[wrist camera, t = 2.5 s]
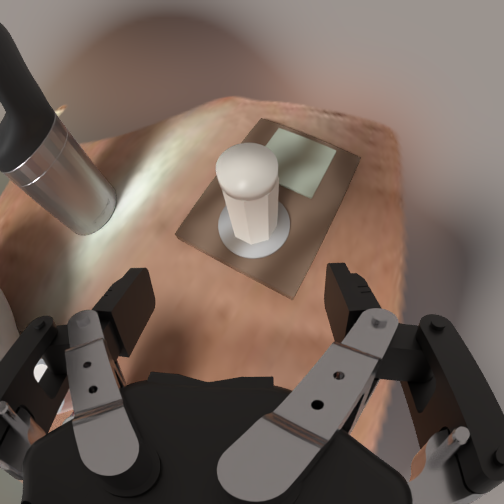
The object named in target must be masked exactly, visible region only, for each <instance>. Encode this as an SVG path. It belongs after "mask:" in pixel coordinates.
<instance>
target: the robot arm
mask: <svg viewBox="0 0 504 504" xmlns="http://www.w3.org/2000/svg"><path fill="white" fill-rule="evenodd" d="M0 102H1V103H2V105H3V107H4V109H5V111H6V114H5V116H4V118H3V120H2V121H1V123H0V171H1V172H2V173H3V174H4V175H6V176H7V177H8V178H9V179H10V180H11V181H12V182H13V183H15V184H16V185H17V186H18V187H19V188H20V189H22V190H23V191H24V192H25V193H26V194H27V195H29V196H30V197H31V198H32V199H33V200H35V201H36V202H37V203H38V204H39V205H41V206H42V207H43V208H44V209H45V210H47V211H48V212H49V213H50V214H52V215H53V216H54V217H55V218H57V219H58V220H59V221H60V222H62V223H63V224H64V225H66V226H67V227H68V228H70V229H71V230H72V231H74V232H75V233H76V234H79V235H89V234H92V233H94V232H96V231H97V230H99V229H100V228H101V227H102V226H104V225H105V223H106V222H107V221H108V220H109V218H110V217H111V215H112V213H113V211H114V208H115V204H116V193H115V190H114V188H113V187H112V186H111V184H110V183H109V182H108V181H107V180H106V178H105V177H104V176H103V175H102V173H101V172H100V171H99V169H98V168H97V167H96V166H95V164H94V163H93V162H92V161H91V159H90V158H89V157H88V156H87V154H86V153H85V152H84V150H83V149H82V148H81V146H80V145H79V144H78V143H77V141H76V140H75V139H74V137H73V136H72V135H71V133H70V132H69V131H68V129H67V128H66V127H65V125H64V124H63V123H62V121H61V120H60V119H59V117H58V116H57V114H56V113H55V112H54V110H53V109H52V107H51V106H50V105H49V103H48V101H47V100H46V98H45V96H44V94H43V92H42V91H41V89H40V87H39V86H38V84H37V83H36V81H35V80H34V78H33V76H32V75H31V73H30V71H29V70H28V68H27V66H26V64H25V62H24V60H23V58H22V56H21V55H20V52H19V50H18V48H17V47H16V44H15V43H14V41H13V39H12V37H11V35H10V34H9V32H8V31H7V29H6V28H5V27H4V26H3V25H2V24H1V23H0ZM324 303H325V309H326V312H327V316H328V319H329V323H330V326H331V330H332V333H333V337H334V340H335V342H333V343H332V344H331V346H330V347H329V348H328V349H327V351H326V352H325V353H324V354H323V356H322V357H321V358H320V359H319V361H318V362H317V363H316V364H315V365H314V367H313V368H312V369H311V370H310V371H309V373H308V374H307V375H306V376H305V377H304V378H303V380H302V381H301V382H300V383H299V384H298V385H297V386H296V388H295V389H294V390H293V391H291V390H289V389H286V388H282V387H278V386H274V384H273V377H238V378H233V379H227V380H221V381H214V382H204V381H200V380H197V379H193V378H190V377H186V376H183V375H179V374H170V373H159V372H150V375H149V377H148V380H144V381H139V382H135V383H132V384H129V385H127V384H126V381H125V379H124V376H123V374H122V371H121V368H120V366H119V363H118V361H117V358H118V356H122V357H130V355H131V353H132V351H133V349H134V347H135V345H136V343H137V341H138V339H139V337H140V335H141V333H142V331H143V330H144V328H145V326H146V324H147V322H148V320H149V318H150V316H151V315H152V313H153V311H154V308H155V296H154V292H153V288H152V284H151V280H150V275H149V272H148V270H147V268H130V269H129V270H128V272H127V273H126V274H125V275H124V276H123V278H121V279H120V280H118V281H116V282H115V283H113V284H112V286H111V287H110V288H109V289H108V291H107V292H106V293H105V294H104V296H102V298H101V299H100V300H99V301H98V303H97V304H96V305H95V306H94V308H93V309H92V310H84V311H81V312H78V313H76V314H75V315H73V316H72V317H71V318H70V319H69V321H68V324H67V325H60V326H56V325H55V323H54V321H53V318H52V317H50V316H42V317H39V318H37V319H35V320H33V321H32V322H31V323H30V324H29V325H28V326H27V328H26V329H25V330H24V331H23V333H22V334H21V335H20V336H19V338H18V339H17V340H16V341H15V343H14V344H13V345H12V346H11V348H10V349H9V350H8V352H7V353H6V354H5V356H4V357H3V358H2V360H1V361H0V468H2V469H4V470H5V471H6V472H7V473H9V474H10V475H11V476H12V477H14V478H15V479H18V480H23V495H22V501H21V504H470V503H472V502H474V501H475V500H477V499H478V498H480V497H482V496H483V495H485V494H486V493H487V492H489V491H491V490H492V489H493V488H495V487H496V486H498V485H499V484H500V483H502V482H503V481H504V414H503V412H502V411H501V408H500V406H499V404H498V402H497V400H496V398H495V396H494V394H493V392H492V390H491V388H490V386H489V384H488V383H487V381H486V379H485V377H484V375H483V373H482V372H481V370H480V368H479V366H478V365H477V363H476V361H475V360H474V358H473V356H472V355H471V353H470V351H469V350H468V348H467V346H466V345H465V343H464V341H463V340H462V338H461V337H460V335H459V334H458V332H457V331H456V329H455V328H454V326H453V324H452V323H451V322H450V321H449V320H448V319H446V318H445V317H442V316H439V315H433V314H431V315H426V316H424V317H422V318H421V320H420V323H419V326H416V325H406V324H400V323H398V319H397V317H396V316H395V315H394V314H393V313H392V312H390V311H388V310H385V309H381V307H380V305H379V303H378V301H377V300H376V298H375V296H374V294H373V293H372V291H371V289H370V288H369V287H368V284H367V282H366V281H365V279H364V278H362V277H361V276H360V275H358V274H357V273H350V271H349V270H348V268H347V266H346V264H345V263H328V264H327V269H326V281H325V293H324ZM41 357H42V359H43V360H44V362H45V364H46V366H47V369H46V371H45V372H44V374H43V376H42V377H41V379H40V381H39V382H37V380H36V379H35V376H34V368H35V366H36V364H37V363H38V361H39V360H40V358H41ZM380 379H387V380H397V381H400V382H401V385H402V388H403V391H404V394H405V398H406V400H407V404H408V407H409V410H410V413H411V417H412V420H413V424H414V427H415V430H416V434H417V438H418V442H419V446H420V449H421V450H420V451H419V452H418V453H417V454H416V455H415V457H414V459H413V461H412V464H411V478H410V481H409V482H406V480H405V478H404V477H403V476H402V475H401V474H400V473H399V472H398V471H396V470H395V469H394V468H392V467H391V466H390V465H388V464H387V463H385V462H384V461H383V460H381V459H380V458H379V457H378V456H376V455H375V454H374V453H372V452H371V451H370V450H368V449H367V448H366V447H364V446H363V445H362V444H361V443H359V442H358V441H357V440H356V439H354V438H353V437H352V436H351V435H350V433H351V432H352V430H353V428H354V426H355V424H356V423H357V421H358V419H359V417H360V415H361V413H362V411H363V409H364V408H365V406H366V404H367V402H368V401H369V399H370V397H371V395H372V393H373V392H374V390H375V388H376V386H377V384H378V382H379V380H380ZM69 388H70V394H71V399H72V405H73V410H74V418H73V419H71V420H70V421H68V422H66V423H65V424H63V425H61V426H60V427H58V428H56V429H55V430H53V431H51V432H50V433H48V432H49V429H50V427H51V425H52V423H53V421H54V419H55V416H56V414H57V412H58V410H59V408H60V406H61V404H62V402H63V400H64V398H65V396H66V394H67V392H68V390H69Z"/></svg>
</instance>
